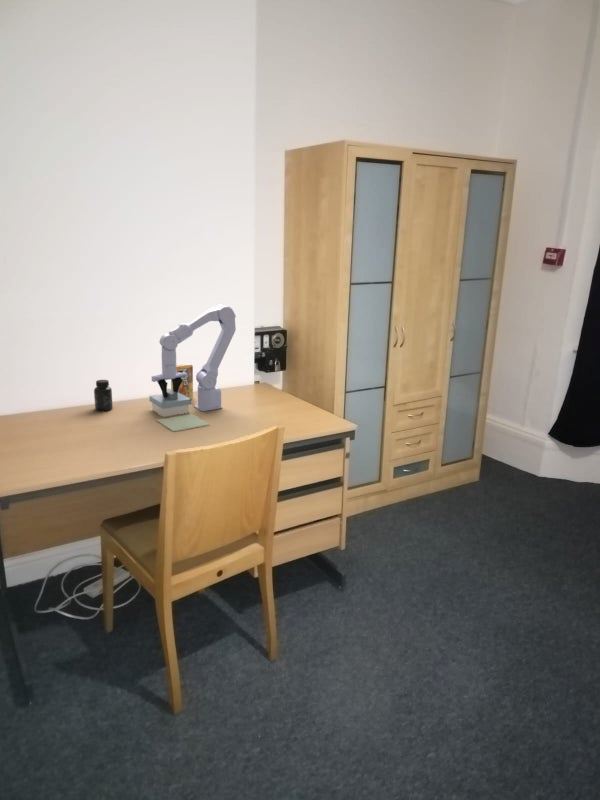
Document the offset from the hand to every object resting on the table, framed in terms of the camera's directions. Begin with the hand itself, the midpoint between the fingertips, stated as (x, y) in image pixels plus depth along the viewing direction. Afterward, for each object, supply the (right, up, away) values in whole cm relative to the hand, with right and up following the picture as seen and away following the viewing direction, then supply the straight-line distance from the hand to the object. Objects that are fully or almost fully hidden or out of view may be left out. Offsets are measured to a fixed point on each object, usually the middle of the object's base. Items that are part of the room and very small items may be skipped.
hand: (170, 396), depth 232 cm
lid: (0, -2, +1) cm, 3 cm away
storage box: (0, -6, +2) cm, 6 cm away
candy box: (+1, -1, +20) cm, 20 cm away
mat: (+8, -10, -12) cm, 17 cm away
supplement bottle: (-27, -5, +1) cm, 28 cm away
